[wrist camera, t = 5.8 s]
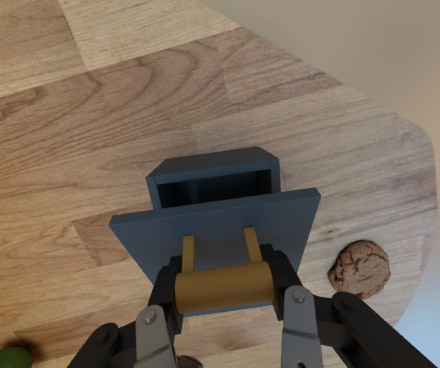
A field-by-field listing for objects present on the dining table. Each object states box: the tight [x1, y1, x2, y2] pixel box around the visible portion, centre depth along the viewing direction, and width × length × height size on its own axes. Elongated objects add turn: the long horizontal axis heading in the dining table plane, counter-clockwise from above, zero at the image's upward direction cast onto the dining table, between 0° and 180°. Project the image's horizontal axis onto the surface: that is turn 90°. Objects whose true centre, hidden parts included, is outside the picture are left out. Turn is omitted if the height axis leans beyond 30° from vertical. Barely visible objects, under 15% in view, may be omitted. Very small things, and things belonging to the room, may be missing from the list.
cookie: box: [329, 241, 391, 300], centre depth 33 cm, size 10×11×3 cm
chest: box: [146, 147, 281, 210], centre depth 26 cm, size 17×13×9 cm
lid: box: [109, 188, 321, 317], centre depth 17 cm, size 18×13×5 cm
